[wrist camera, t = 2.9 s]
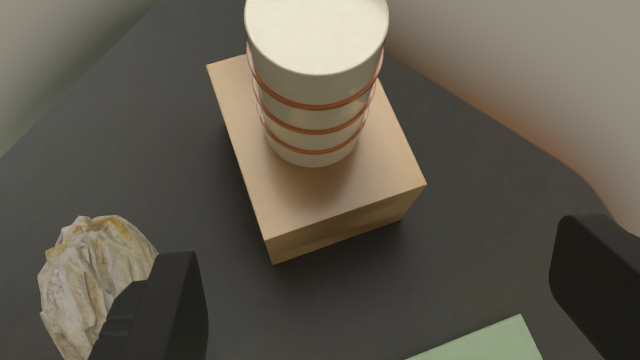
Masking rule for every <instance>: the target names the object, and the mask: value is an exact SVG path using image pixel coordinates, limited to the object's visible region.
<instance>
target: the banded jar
mask: <svg viewBox="0 0 640 360" xmlns="http://www.w3.org/2000/svg"><path fill="white" fill-rule="evenodd" d="M244 23H245V29H246V35H247V49H246V52H247V60H248V64H249V67H250V70H251V72H252V85H253V91H254V94H255V98H256V100H257V103H256V105H257V112H258V116H259V120H260V122H261V124H262V126H263V131H264V134H265V137H266V140H267V142H268V144H269V145H270V147H271V148H272V149H273V150H274V152H275V153H276V154H277V155H279V156H280V157H281V158H283V159H284V160H286V161H288V162H289V163H292V164H294V165H297V166H301V167H308V168H318V167H324V166H328V165H331V164H334V163H336V162H338V161H340V160H341V159H343V158H344V157H346V156H347V155H348V154H349V153H350V152H351V151H352V149H353V148H354V147H355V145H356V143H357V142H358V139H359V137H360V133H361V131H362V129H363V127H364V126H365V123H366V121H367V118H368V113H369V106H370V103H371V101H372V99H373V96H374V92H375V88H376V79H377V77H378V75H379V73H380V70H381V67H382V63H383V58H384V42H385V39H386V35H387V31H388V27H389V10H388V6H387V2H386V0H246V3H245V8H244Z"/></svg>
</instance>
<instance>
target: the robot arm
mask: <svg viewBox="0 0 640 360" xmlns="http://www.w3.org/2000/svg"><path fill="white" fill-rule="evenodd" d="M549 284H550V288H551V292H552V294H553V296H554V298H555V300H556V301H557V303H558V304H559V305H560V306H561V308H562V309H563V310H564V311H565V312H566V314H567V315H568V316H569V317H570V318H571V320H572V321H573V322H574V323H575V324H576V326H577V327H578V328H579V329H580V330H581V331H582V333H583V334H584V335H585V336H586V337H587V339H588V340H589V341H590V342H591V343H592V345H593V346H594V347H595V348H596V349H597V351H598V352H599V353H600V354H601V355H602V357H603V358H604V359H605V360H640V238H639V237H637V236H635V235H633V234H631V233H629V232H627V231H626V230H624V229H623V228H622V227H621V226H619V225H618V224H617V223H615V222H614V221H613V220H611V219H610V218H609V217H608V216H606V215H605V214H603V213H589V214H579V215H568V216H564V217H563V218H562V219H561V220H560V222H559V224H558V229H557V234H556V239H555V244H554V250H553V255H552V260H551V266H550V271H549ZM207 341H208V313H207V306H206V301H205V296H204V291H203V286H202V280H201V275H200V270H199V265H198V260H197V256H196V254H195V252H194V251H190V252H179V253H169V254H159V255H157V256H156V258H155V261H154V264H153V266H152V269H151V272H150V274H149V277H148V280H140V281H132V282H131V283H130V284H129V285H128V286H127V287H126V288H125V289H124V290H123V291H122V292H121V293H120V294H119V295H118V296H117V297H116V298H115V299H114V301H113V303H112V306H111V308H110V310H109V312H108V314H107V317H106V322H104V323H103V326H102V328H101V330H100V332H99V338H98V339H96V341H95V344H94V346H93V348H92V350H91V353H90V355H89V357H88V359H87V360H205V354H206V347H207Z"/></svg>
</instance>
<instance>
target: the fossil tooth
mask: <svg viewBox="0 0 640 360" xmlns="http://www.w3.org/2000/svg"><path fill="white" fill-rule="evenodd" d="M45 254H46V262H47V263H46V264H45V265H44V267H43V268H42V270H41V271H40V273H39V274H38V276H37V278H38V283H39V288H40V294H41V306H42V309H43V311H42V312H41V313H39V314H40V316H41V318H42V321H43V323H44V325H45V327H46V329H47V330H48V332H49V334H50V336H51V338H52V339H53V341H54V343H55V345H56V347H57V348H58V350H59V352H60V353H61V355H62V356H63V358H64V359H65V360H87V359H88V357H89V355H90V353H91V350H92V348H93V346H94V344H95V341H96V339H98V338H99V332H100V330H101V328H102V326H103V323H104V322H106V317H107V314H108V312H109V310H110V308H111V306H112V303H113V301H114V299H115V298H116V297H117V296H118V295H119V294H120V293H121V292H122V291H123V290H124V289H125V288H126V287H127V286H128V285H129V284H130V283H131V282H132V281H140V280H148V277H149V274H150V272H151V269H152V266H153V264H154V261H155V258H156V256H157V255H159V253H158V251H157V250H156V248H155V247H154V246H153V245H152V244H151V243H150V242H149V241H148V240H147V239H146V238H145V236H144V235H143V234H142V233H141V232H140V231H139V230H138V228H137V227H135V226H134V225H132V224H131V223H130V222H128V220H125V219H123V218H122V217H120V216H119V215H109V216H98V217H96V218H94V219H91V218H89V217H86V216H78V218H77V219H76V220H75V221H74V223H73V224H72V225H71V226H68V227H64V228H62V230H61V235H60V236H59V238H58V240H57V242H56V245H55V247H53V248H51V249H49V250H46V251H45Z"/></svg>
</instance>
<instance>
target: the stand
mask: <svg viewBox="0 0 640 360" xmlns="http://www.w3.org/2000/svg"><path fill="white" fill-rule="evenodd" d="M206 67H207V70H208V73H209V76H210V79H211V82H212V85H213V88H214V91H215V94H216V97H217V100H218V103H219V107H220V110H221V113H222V116H223V119H224V122H225V125H226V128H227V131H228V134H229V137H230V140H231V143H232V146H233V149H234V152H235V155H236V158H237V161H238V164H239V167H240V170H241V173H242V176H243V179H244V182H245V185H246V188H247V191H248V194H249V197H250V200H251V203H252V206H253V209H254V212H255V215H256V218H257V221H258V224H259V227H260V230H261V233H262V236H263V239H264V242H265V245H266V248H267V251H268V254H269V256H270V259H271V262H272V265H275V264H278V263H281V262H284V261H286V260H289V259H292V258H295V257H298V256H301V255H303V254H306V253H309V252H312V251H315V250H317V249H320V248H323V247H326V246H329V245H331V244H334V243H337V242H340V241H343V240H346V239H348V238H351V237H354V236H357V235H360V234H362V233H365V232H368V231H371V230H374V229H376V228H379V227H382V226H385V225H388V224H391V223H393V222H396V221H399V220H401V219H402V218H403V216H404V215H405V213H406V212H407V211H408V209H409V208H410V207H411V205H412V204H413V203H414V201H415V200H416V199H417V197H418V196H419V195H420V193H421V192H422V191H423V189H424V188H425V187H426V185H427V183H426V181H425V179H424V176H423V174H422V172H421V170H420V168H419V166H418V163H417V161H416V159H415V157H414V155H413V153H412V150H411V148H410V146H409V144H408V142H407V140H406V138H405V135H404V133H403V131H402V129H401V127H400V125H399V122H398V120H397V118H396V116H395V114H394V112H393V109H392V107H391V105H390V103H389V101H388V99H387V96H386V94H385V92H384V90H383V88H382V86H381V84H380V81H379V79H378V77H377V79H376V88H375V92H374V96H373V99H372V101H371V103H370V106H369V113H368V118H367V121H366V123H365V126H364V127H363V129H362V131H361V133H360V137H359V139H358V142H357V143H356V145H355V147H354V148H353V149H352V151H351V152H350V153H349V154H348V155H347V156H346V157H344V158H343V159H341V160H340V161H338V162H336V163H334V164H331V165H328V166H324V167H318V168H308V167H301V166H297V165H294V164H292V163H289V162H288V161H286V160H284V159H283V158H281V157H280V156H279V155H277V154H276V153H275V152H274V150H273V149H272V148H271V147H270V145H269V144H268V142H267V140H266V137H265V134H264V131H263V126H262V124H261V122H260V120H259V116H258V112H257V105H256V103H257V100H256V98H255V94H254V91H253V85H252V72H251V70H250V67H249V64H248V60H247V54H243V55H240V56H236V57H233V58H229V59H226V60H222V61H219V62H215V63H212V64H208V65H206Z"/></svg>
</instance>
